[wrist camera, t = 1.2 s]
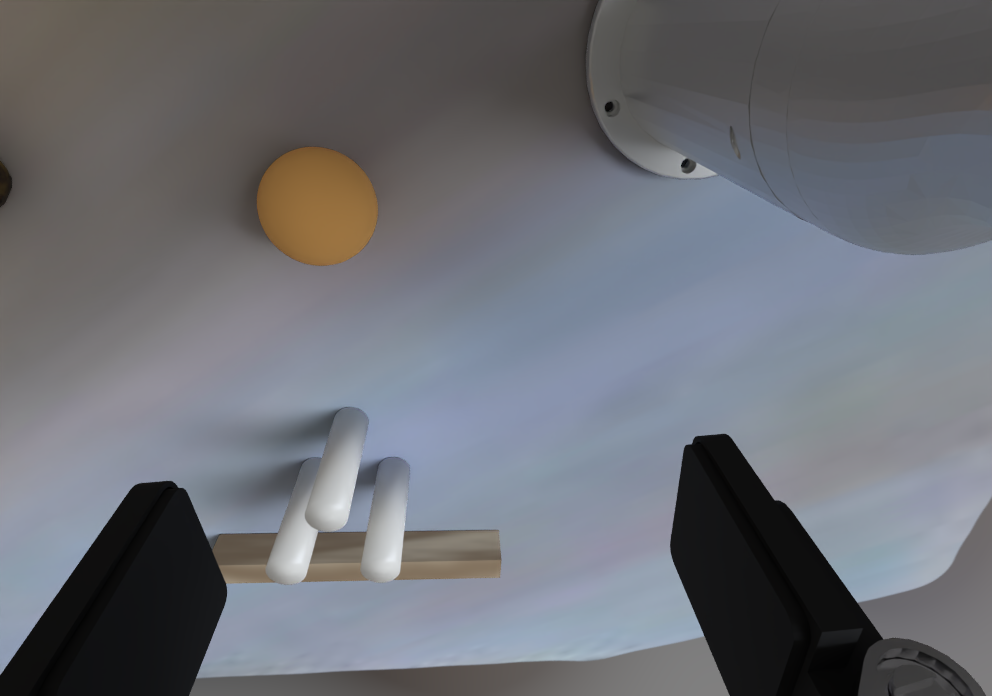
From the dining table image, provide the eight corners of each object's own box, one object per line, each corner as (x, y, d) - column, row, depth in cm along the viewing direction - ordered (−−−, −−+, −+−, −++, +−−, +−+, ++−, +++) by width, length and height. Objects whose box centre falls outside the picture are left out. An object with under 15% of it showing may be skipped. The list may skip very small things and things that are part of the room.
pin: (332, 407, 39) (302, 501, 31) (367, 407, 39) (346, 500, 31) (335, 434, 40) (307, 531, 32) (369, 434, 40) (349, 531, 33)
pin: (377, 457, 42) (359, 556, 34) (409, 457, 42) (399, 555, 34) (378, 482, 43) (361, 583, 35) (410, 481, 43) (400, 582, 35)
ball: (267, 135, 30) (229, 157, 25) (381, 139, 31) (365, 162, 26) (283, 242, 33) (251, 282, 28) (386, 245, 34) (373, 284, 28)
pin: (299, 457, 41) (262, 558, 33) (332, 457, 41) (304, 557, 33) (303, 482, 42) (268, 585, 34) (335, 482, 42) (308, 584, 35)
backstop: (219, 534, 44) (204, 565, 42) (498, 530, 46) (501, 560, 43) (224, 551, 45) (210, 583, 43) (497, 547, 47) (499, 577, 44)
